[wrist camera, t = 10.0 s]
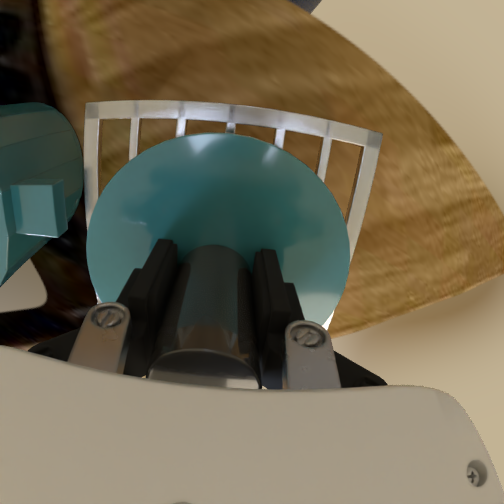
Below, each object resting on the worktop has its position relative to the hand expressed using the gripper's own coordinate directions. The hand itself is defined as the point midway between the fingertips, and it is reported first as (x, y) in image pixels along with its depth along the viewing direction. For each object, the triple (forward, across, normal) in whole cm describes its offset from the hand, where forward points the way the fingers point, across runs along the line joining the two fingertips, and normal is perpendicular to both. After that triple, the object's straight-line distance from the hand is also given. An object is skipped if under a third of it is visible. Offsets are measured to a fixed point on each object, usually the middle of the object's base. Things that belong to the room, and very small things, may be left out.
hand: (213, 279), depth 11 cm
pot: (+8, +15, -2) cm, 17 cm away
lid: (+1, 0, 0) cm, 1 cm away
